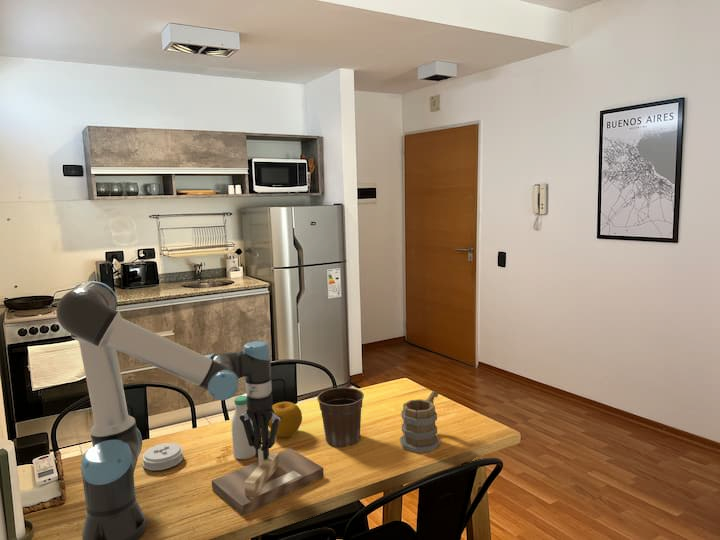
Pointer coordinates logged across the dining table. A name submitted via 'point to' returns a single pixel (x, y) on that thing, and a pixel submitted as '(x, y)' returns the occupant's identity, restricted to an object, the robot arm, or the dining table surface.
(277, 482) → the stool seat
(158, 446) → the lid
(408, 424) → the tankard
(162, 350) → the robot arm
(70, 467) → the dining table surface
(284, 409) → the apple
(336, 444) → the plant pot
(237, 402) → the milk bottle
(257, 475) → the folding leg
